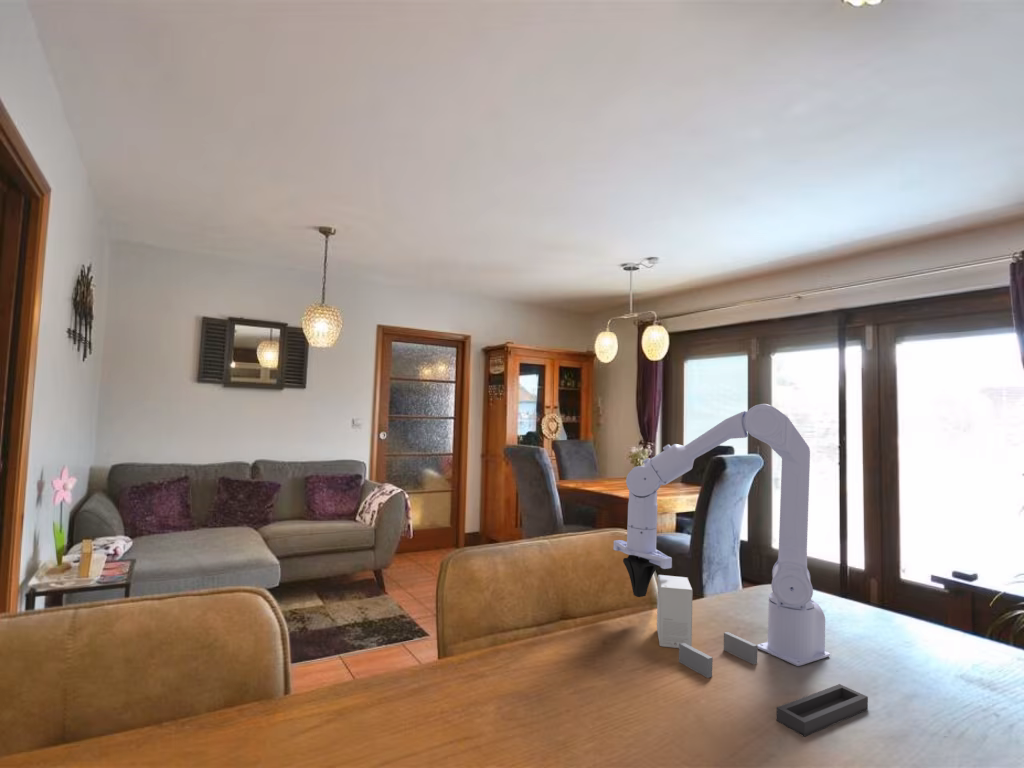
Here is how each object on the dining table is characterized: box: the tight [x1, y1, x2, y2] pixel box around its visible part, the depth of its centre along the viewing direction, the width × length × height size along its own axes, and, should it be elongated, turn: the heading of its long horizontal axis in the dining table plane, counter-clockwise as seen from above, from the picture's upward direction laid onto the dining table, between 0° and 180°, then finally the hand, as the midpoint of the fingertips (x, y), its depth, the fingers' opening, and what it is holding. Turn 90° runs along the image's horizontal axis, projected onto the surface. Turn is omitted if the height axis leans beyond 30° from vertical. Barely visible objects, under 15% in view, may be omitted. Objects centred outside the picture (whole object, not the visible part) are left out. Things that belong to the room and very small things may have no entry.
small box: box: [656, 574, 694, 649], centre depth 100 cm, size 8×6×10 cm
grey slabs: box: [678, 631, 758, 679], centre depth 91 cm, size 12×6×3 cm, turn 120°
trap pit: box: [775, 683, 869, 737], centre depth 76 cm, size 15×4×2 cm, turn 120°
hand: (639, 595), depth 108 cm, fingers closed
